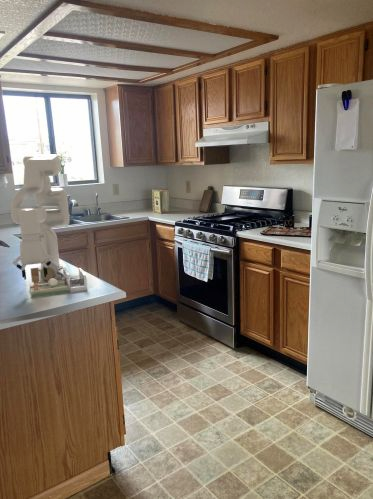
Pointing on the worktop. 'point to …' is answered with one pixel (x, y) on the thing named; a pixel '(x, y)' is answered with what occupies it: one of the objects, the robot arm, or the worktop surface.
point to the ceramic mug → (51, 272)
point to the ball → (52, 282)
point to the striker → (35, 277)
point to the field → (48, 289)
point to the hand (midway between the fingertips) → (35, 277)
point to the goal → (75, 281)
